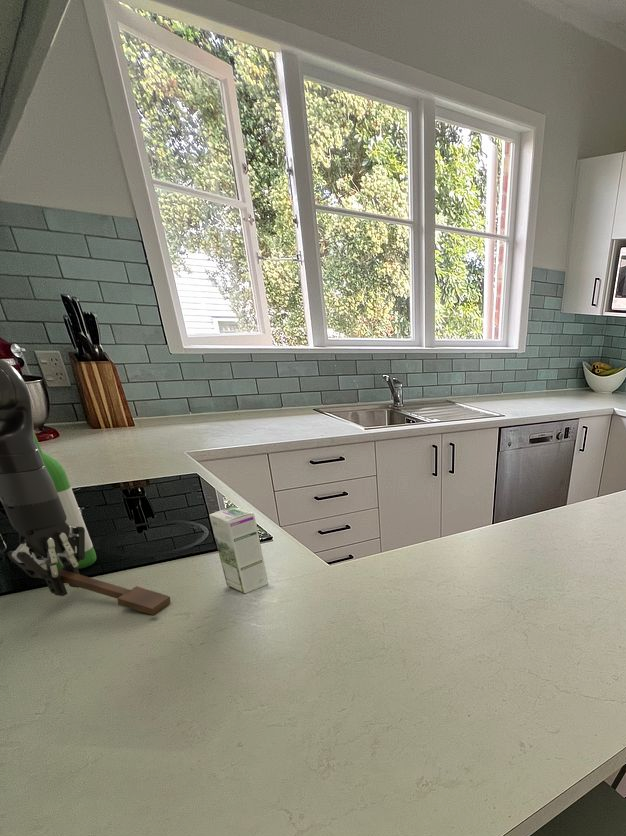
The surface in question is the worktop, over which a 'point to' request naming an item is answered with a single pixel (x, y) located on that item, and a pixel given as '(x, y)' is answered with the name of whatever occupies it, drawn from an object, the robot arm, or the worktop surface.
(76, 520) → the wine bottle
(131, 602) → the brown paddle
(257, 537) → the syrup box
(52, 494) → the robot arm
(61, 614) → the worktop surface
